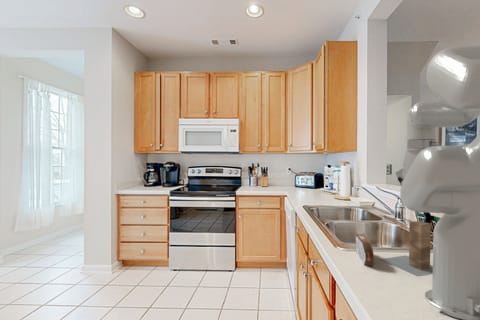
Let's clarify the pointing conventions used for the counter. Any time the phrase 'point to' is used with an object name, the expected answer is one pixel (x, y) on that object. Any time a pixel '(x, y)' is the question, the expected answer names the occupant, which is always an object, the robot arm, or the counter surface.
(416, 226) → the block
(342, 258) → the counter surface
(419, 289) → the counter surface
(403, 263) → the mat
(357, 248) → the tin
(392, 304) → the counter surface
